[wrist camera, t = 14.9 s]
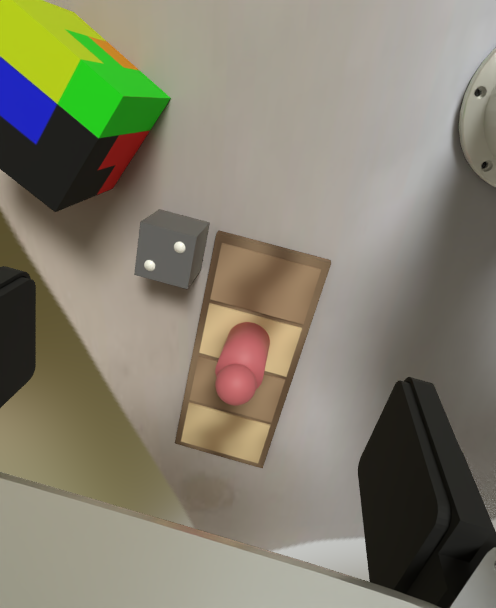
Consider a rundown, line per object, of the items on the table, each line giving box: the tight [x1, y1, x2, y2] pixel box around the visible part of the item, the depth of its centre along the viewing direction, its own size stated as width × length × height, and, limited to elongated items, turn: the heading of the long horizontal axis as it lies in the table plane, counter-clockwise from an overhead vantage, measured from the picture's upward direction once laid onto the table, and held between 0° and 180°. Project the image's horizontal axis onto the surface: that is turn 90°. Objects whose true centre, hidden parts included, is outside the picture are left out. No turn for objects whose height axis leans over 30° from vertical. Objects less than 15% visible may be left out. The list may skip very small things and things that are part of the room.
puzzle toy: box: [0, 0, 171, 212], centre depth 33 cm, size 10×10×10 cm
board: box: [175, 231, 331, 468], centre depth 46 cm, size 11×27×1 cm, turn 167°
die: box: [134, 209, 210, 289], centre depth 40 cm, size 5×5×5 cm
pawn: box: [215, 322, 270, 406], centre depth 40 cm, size 4×4×9 cm
